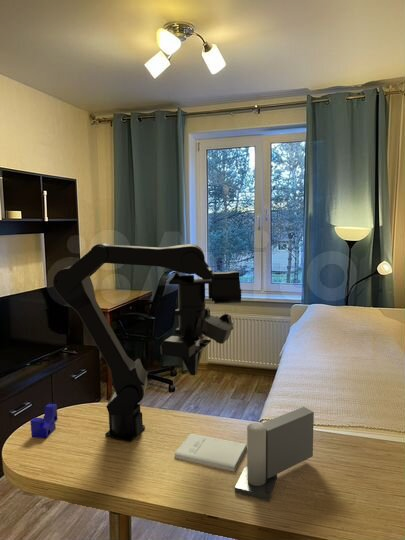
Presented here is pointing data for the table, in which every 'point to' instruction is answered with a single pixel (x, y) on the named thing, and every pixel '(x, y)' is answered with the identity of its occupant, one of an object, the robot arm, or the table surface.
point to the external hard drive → (211, 451)
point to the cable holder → (45, 422)
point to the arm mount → (255, 487)
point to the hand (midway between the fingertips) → (193, 374)
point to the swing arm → (278, 444)
